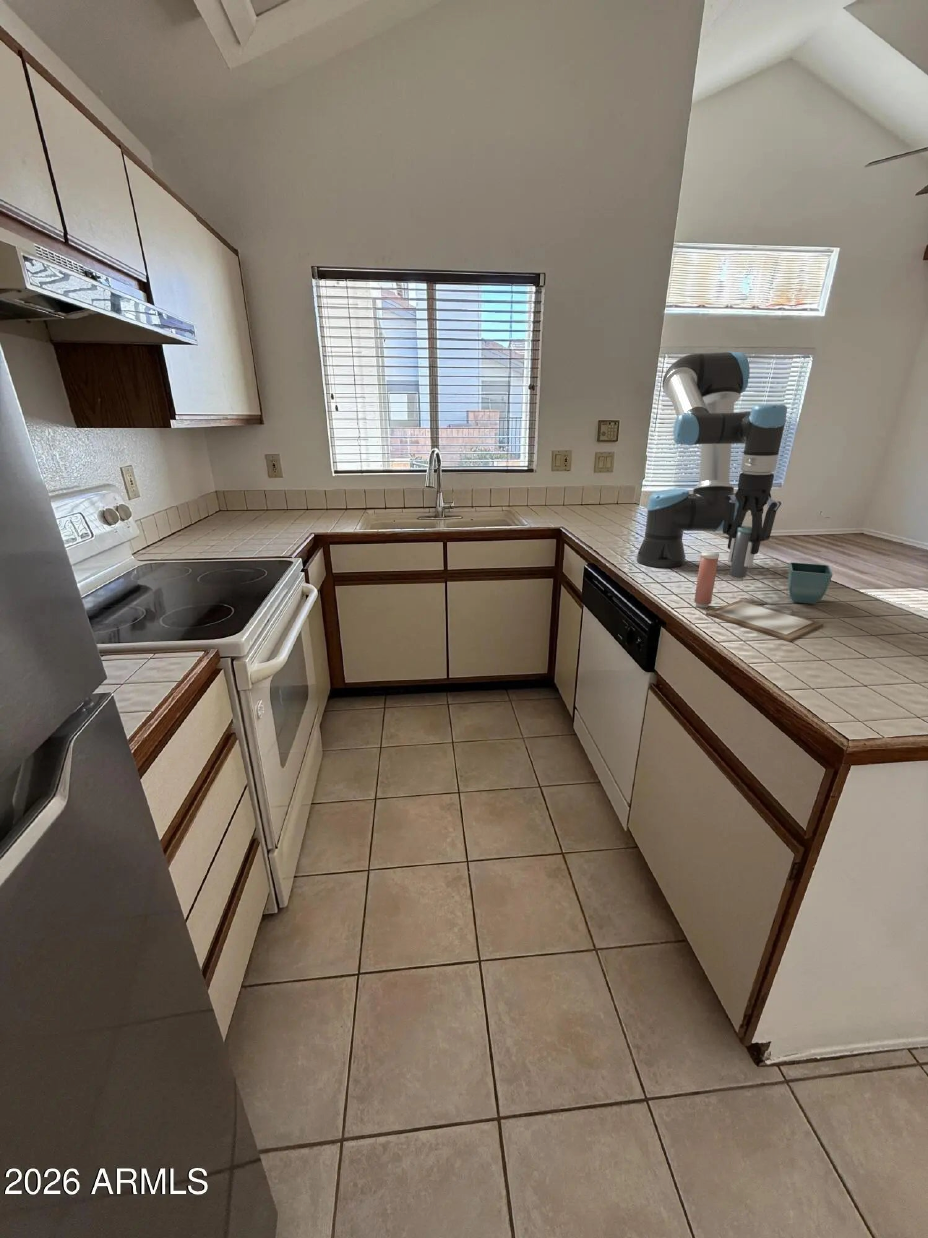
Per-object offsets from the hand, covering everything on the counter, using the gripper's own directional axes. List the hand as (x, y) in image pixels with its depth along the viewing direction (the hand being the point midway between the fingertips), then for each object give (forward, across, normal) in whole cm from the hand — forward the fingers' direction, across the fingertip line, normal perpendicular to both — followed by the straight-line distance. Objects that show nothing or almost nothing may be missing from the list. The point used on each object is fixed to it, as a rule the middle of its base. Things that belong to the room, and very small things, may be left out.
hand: (739, 563), depth 136 cm
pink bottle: (+9, 0, -14) cm, 16 cm away
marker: (+5, 0, 0) cm, 5 cm away
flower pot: (+9, +13, +10) cm, 19 cm away
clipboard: (+9, +14, -11) cm, 19 cm away
